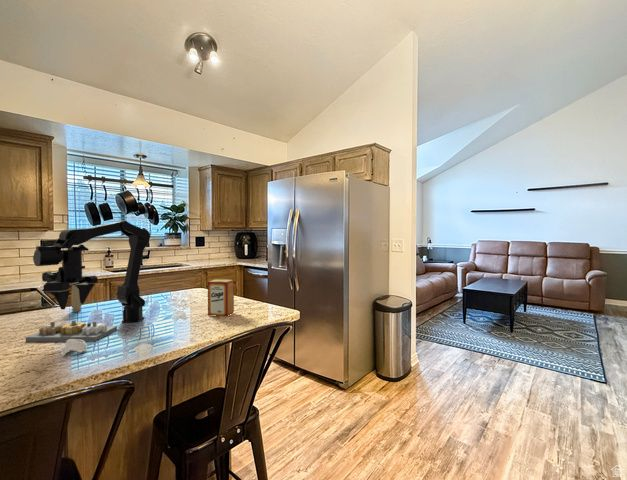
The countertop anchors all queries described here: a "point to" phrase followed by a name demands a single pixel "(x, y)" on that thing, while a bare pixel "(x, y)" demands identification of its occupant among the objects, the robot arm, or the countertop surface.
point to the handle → (75, 299)
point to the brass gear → (72, 328)
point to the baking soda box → (220, 297)
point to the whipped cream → (74, 346)
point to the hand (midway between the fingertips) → (73, 306)
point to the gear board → (54, 334)
